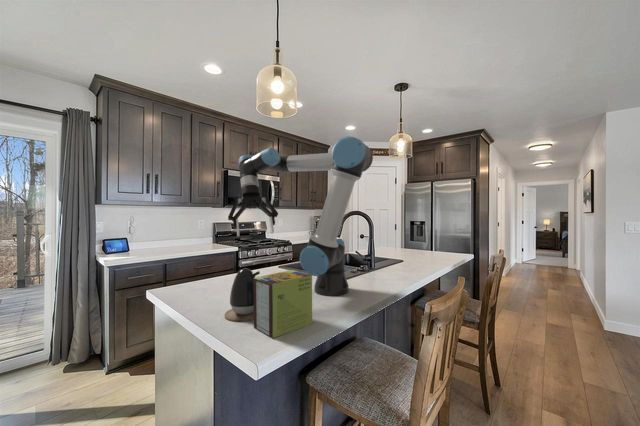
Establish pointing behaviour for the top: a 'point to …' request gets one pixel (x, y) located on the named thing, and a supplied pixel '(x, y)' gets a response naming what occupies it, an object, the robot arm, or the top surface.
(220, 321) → the top surface
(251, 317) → the walnut trivet
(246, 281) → the pump dispenser
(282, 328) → the protein box
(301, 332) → the top surface
